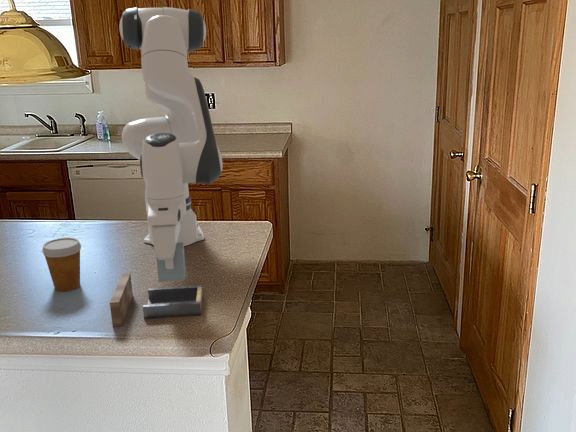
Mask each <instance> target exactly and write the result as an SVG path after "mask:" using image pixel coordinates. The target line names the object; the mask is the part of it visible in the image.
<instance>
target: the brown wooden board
mask: <svg viewBox="0 0 576 432" xmlns="http://www.w3.org/2000/svg"><path fill="white" fill-rule="evenodd" d="M133 296H134V293H133V285H132V276H131V273H121V276H120V277H119V281H118V283H117V285H116V287H115V289H114V292H113V293H112V297H111V299H110V301H109V309H110V317H111V323H112V324H111V325H112V328H117V327H118V328H119V327H123V324H124V321H125V318H126V315H127V313H128V310H129V308H130V304H131V302H132V299H133Z"/></svg>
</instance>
